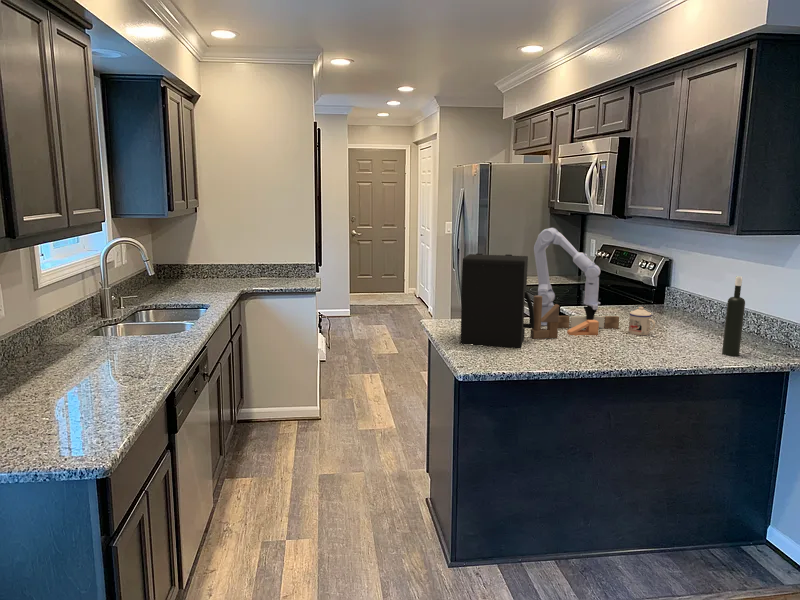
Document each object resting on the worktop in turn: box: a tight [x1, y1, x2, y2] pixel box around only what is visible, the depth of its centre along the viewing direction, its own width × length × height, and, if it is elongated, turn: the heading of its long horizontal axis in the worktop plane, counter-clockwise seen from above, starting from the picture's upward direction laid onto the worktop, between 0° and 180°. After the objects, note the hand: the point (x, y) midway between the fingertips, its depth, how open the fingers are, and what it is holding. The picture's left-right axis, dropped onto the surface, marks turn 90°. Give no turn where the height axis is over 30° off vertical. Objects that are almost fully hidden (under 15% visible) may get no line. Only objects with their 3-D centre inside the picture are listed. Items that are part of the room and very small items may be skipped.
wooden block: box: [529, 294, 560, 340], centre depth 251 cm, size 4×11×18 cm, turn 98°
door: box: [569, 315, 605, 329], centre depth 270 cm, size 15×1×5 cm, turn 92°
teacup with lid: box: [628, 306, 656, 336], centre depth 258 cm, size 12×9×12 cm
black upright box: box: [460, 253, 534, 350], centre depth 244 cm, size 28×20×35 cm
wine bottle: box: [721, 275, 746, 357], centre depth 226 cm, size 6×6×30 cm
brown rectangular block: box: [558, 315, 620, 330], centre depth 269 cm, size 28×2×6 cm, turn 89°
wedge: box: [566, 320, 599, 337], centre depth 258 cm, size 12×4×6 cm, turn 89°
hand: (589, 322), depth 268 cm, fingers closed, pressing on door
